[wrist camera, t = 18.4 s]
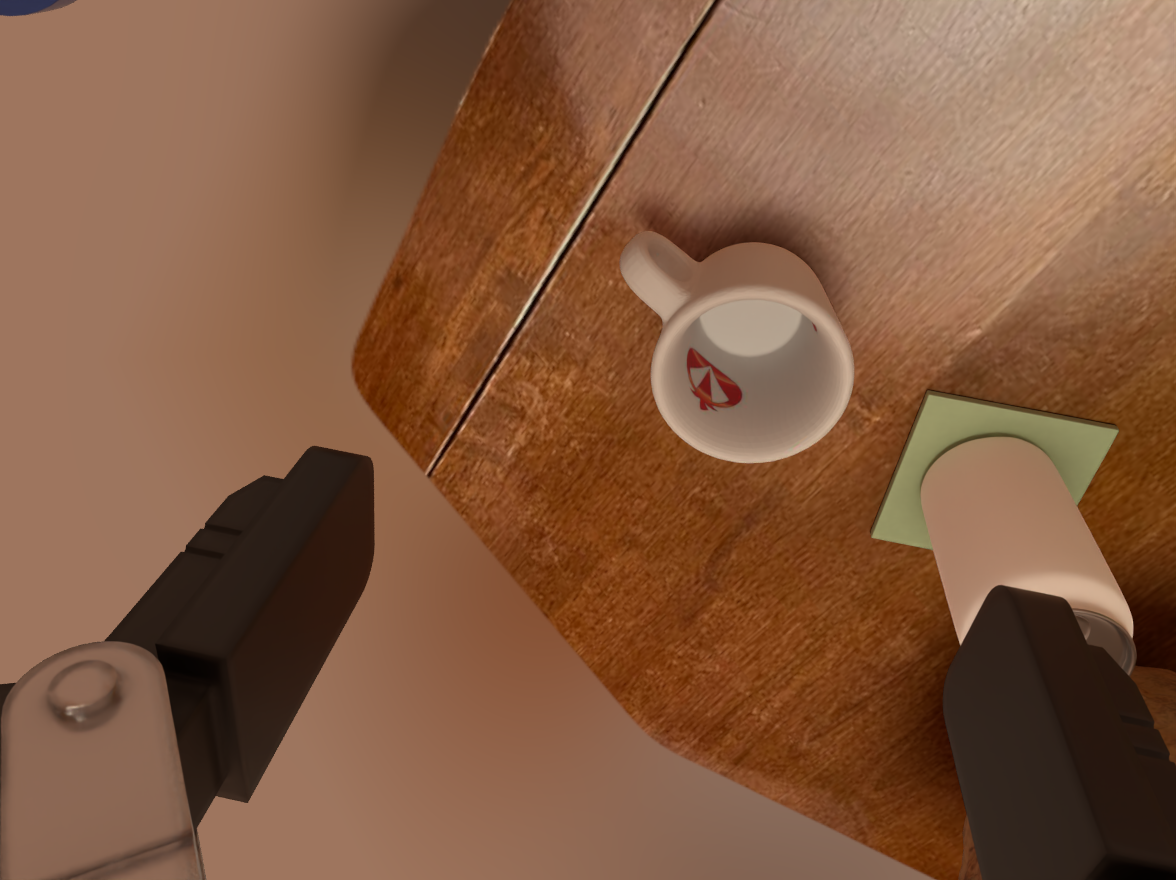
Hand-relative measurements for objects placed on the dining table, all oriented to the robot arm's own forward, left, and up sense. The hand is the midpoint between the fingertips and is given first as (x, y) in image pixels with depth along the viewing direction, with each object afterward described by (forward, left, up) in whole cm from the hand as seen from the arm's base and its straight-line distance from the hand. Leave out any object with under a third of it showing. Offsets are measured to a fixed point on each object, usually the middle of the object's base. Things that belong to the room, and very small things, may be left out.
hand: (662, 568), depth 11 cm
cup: (+2, -8, -30) cm, 31 cm away
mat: (+17, -16, -30) cm, 38 cm away
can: (+17, -16, -30) cm, 38 cm away
